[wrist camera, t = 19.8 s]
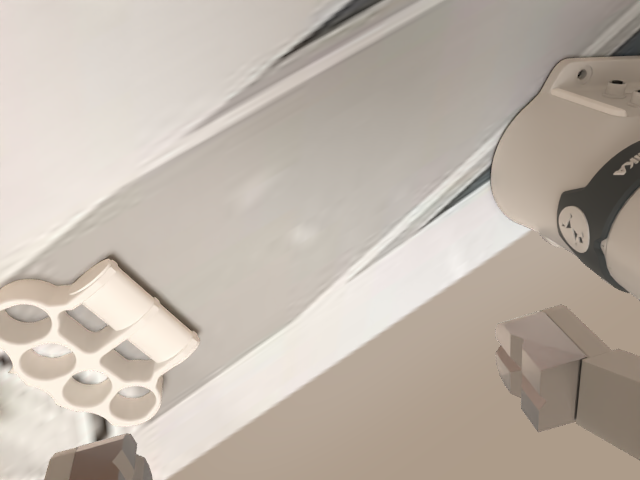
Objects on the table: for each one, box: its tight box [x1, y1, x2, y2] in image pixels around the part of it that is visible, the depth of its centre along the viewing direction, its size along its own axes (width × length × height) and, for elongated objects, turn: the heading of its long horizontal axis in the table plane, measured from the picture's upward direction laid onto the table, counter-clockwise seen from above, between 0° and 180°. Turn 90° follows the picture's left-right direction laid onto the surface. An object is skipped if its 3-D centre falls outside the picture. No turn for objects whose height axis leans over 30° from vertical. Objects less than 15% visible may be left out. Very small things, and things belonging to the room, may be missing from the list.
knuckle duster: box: [0, 259, 200, 427], centre depth 49 cm, size 3×18×15 cm
